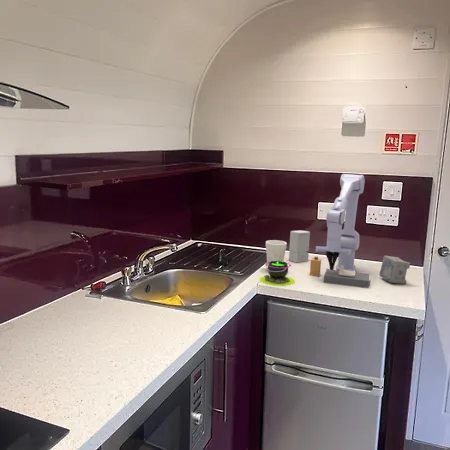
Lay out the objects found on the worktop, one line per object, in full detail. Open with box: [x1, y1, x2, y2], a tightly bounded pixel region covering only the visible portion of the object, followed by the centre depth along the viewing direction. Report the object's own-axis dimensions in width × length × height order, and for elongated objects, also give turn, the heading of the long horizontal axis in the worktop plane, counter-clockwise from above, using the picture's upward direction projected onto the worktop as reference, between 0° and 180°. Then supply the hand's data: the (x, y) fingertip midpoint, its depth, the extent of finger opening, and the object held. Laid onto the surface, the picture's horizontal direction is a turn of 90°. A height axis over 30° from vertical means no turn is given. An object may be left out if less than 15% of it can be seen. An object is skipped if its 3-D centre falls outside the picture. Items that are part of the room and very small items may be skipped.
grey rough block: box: [379, 255, 411, 285], centre depth 201 cm, size 10×8×10 cm
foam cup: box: [265, 239, 288, 267], centre depth 212 cm, size 10×9×13 cm
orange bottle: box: [309, 256, 322, 277], centre depth 208 cm, size 4×4×8 cm
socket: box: [323, 268, 370, 289], centre depth 199 cm, size 11×18×3 cm, turn 71°
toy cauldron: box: [259, 256, 296, 287], centre depth 197 cm, size 15×15×11 cm
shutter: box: [338, 265, 356, 277], centre depth 198 cm, size 7×7×3 cm
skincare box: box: [288, 229, 311, 264], centre depth 230 cm, size 8×6×15 cm
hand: (331, 269), depth 200 cm, fingers closed
